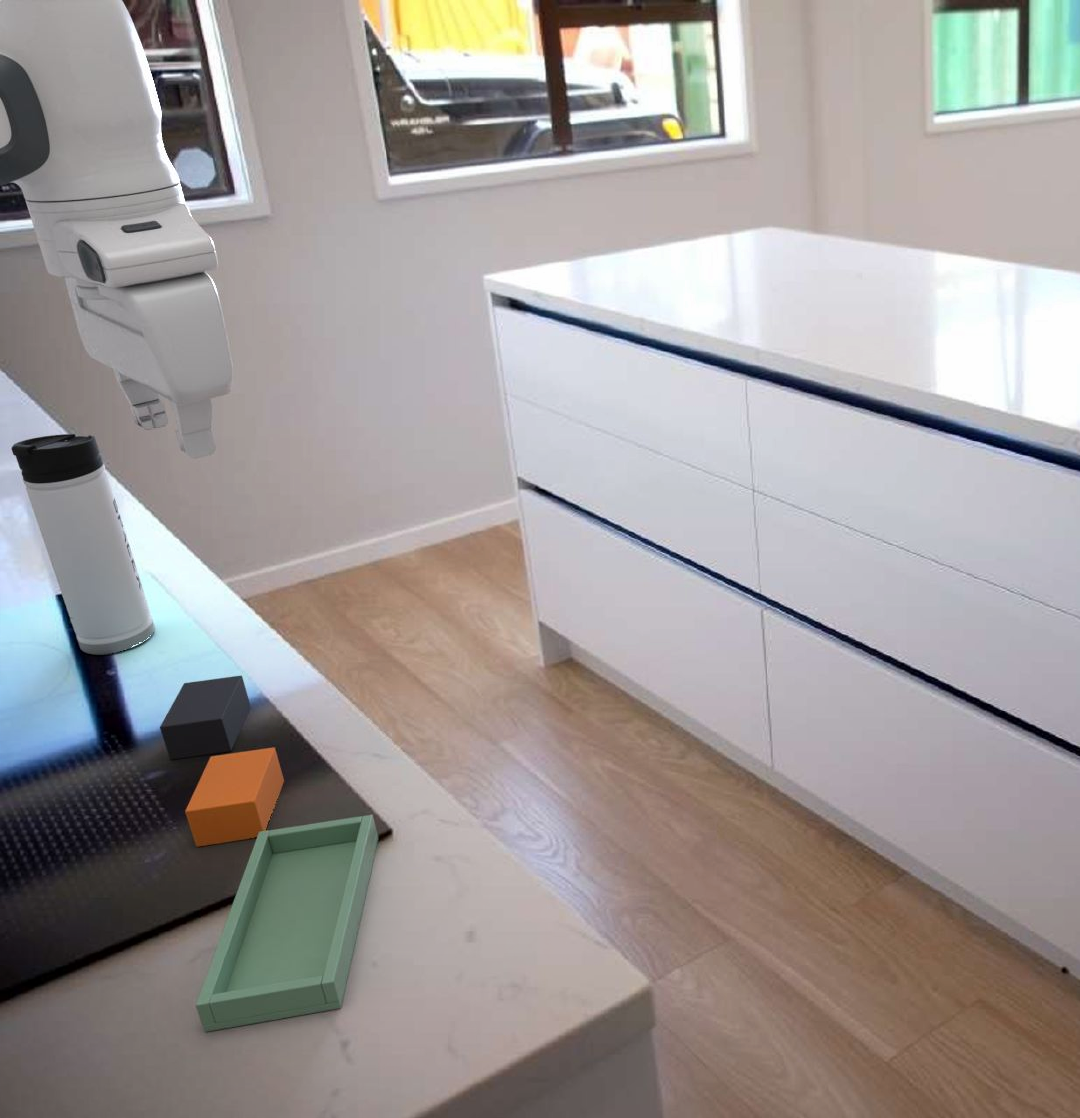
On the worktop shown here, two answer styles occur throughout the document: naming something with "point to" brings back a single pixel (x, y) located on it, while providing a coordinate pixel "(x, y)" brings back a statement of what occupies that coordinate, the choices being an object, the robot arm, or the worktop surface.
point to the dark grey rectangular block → (205, 717)
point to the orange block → (235, 797)
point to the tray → (291, 925)
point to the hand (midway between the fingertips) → (175, 440)
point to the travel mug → (85, 541)
